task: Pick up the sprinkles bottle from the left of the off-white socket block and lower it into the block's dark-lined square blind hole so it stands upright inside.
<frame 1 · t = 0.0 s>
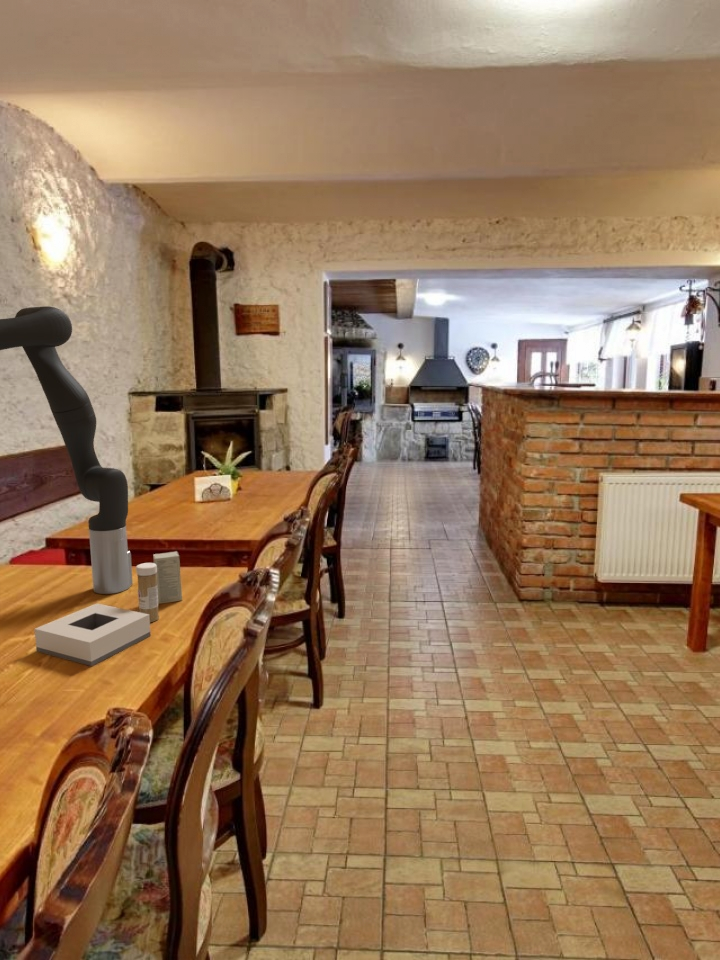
skincare box: (168, 600, 156), on the table
socket block: (95, 643, 130), on the table
sprinkles bottle: (149, 620, 143), on the table
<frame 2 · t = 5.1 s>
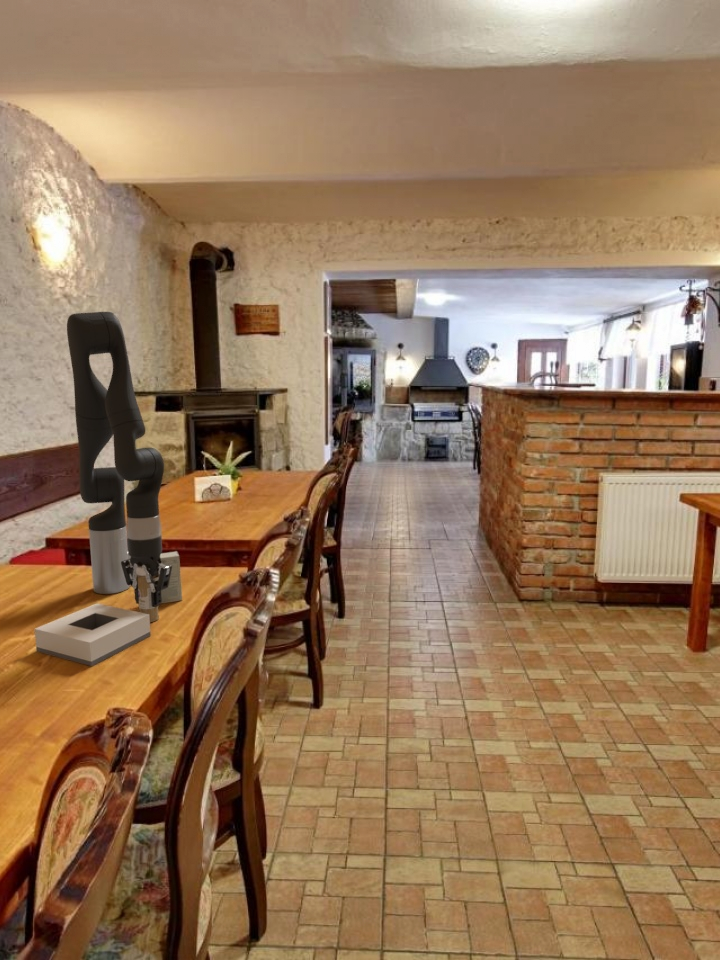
hand: (148, 604, 143), 4 cm above the table, tool pointing down, fingers closed on sprinkles bottle, 4 cm apart
sprinkles bottle: (149, 620, 143), on the table, touching gripper
everything else where it was.
when the fingers open (6 cm above the table, at t = 10.2 s): sprinkles bottle drops 1 cm, resting on socket block.
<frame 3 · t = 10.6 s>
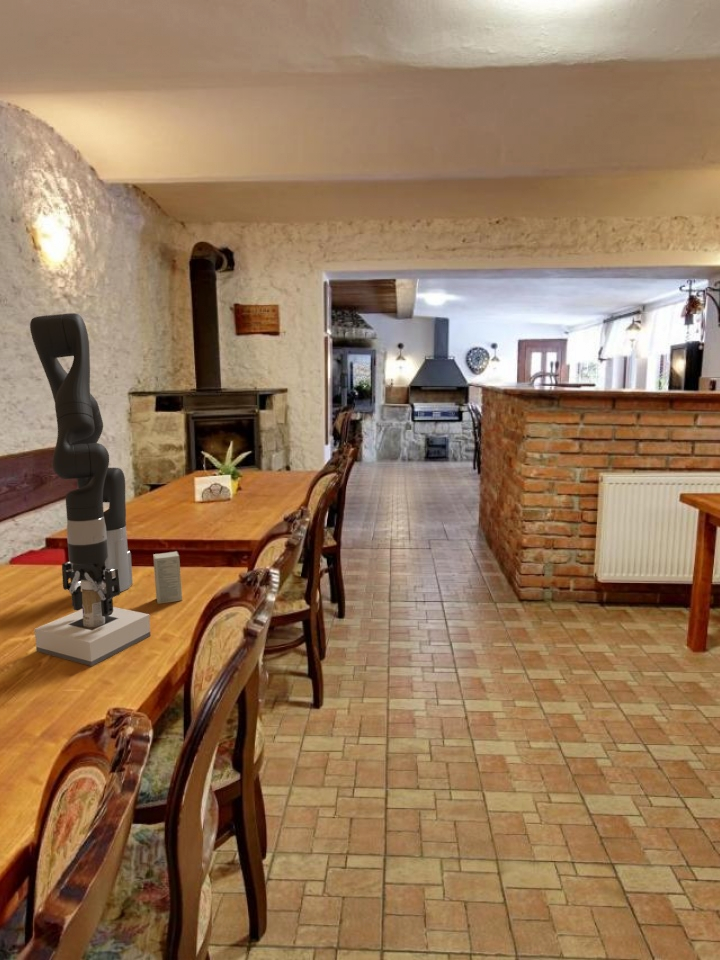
hand: (92, 612, 129), 7 cm above the table, tool pointing down, fingers open, 8 cm apart
sprinkles bottle: (95, 639, 130), point 1 cm above the table, touching socket block
everything else where it was.
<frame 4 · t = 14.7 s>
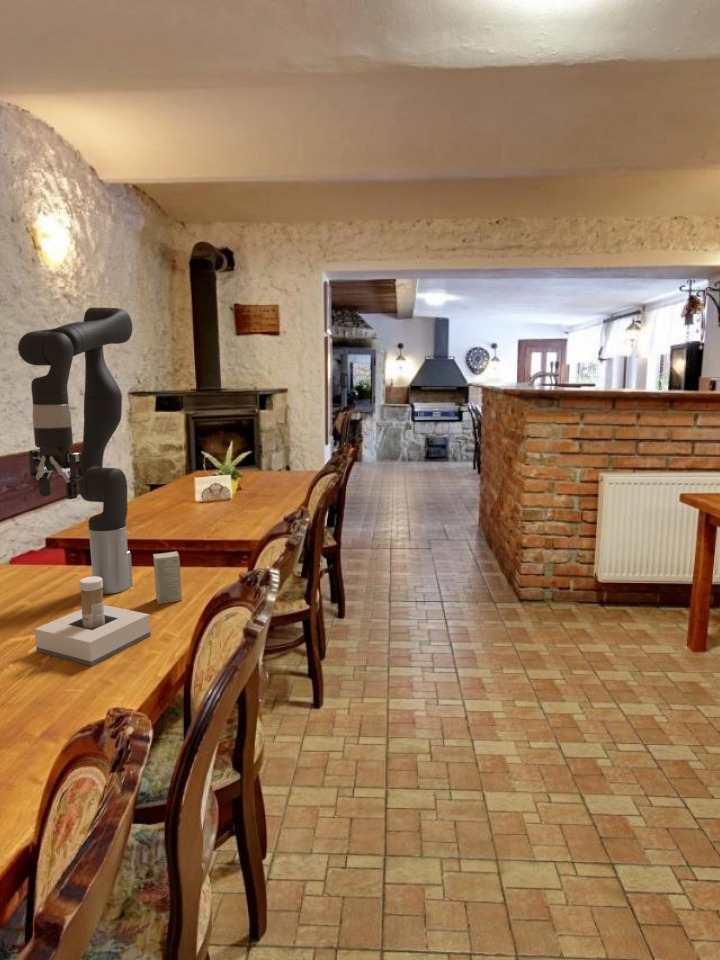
hand: (58, 497, 136), 30 cm above the table, tool pointing down, fingers open, 8 cm apart
nothing on the table moved.
at the end: sprinkles bottle 0.0 cm off-centre on the socket block, point 0.8 cm above the socket block's base; sprinkles bottle tilted 0°; the gripper is holding nothing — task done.
